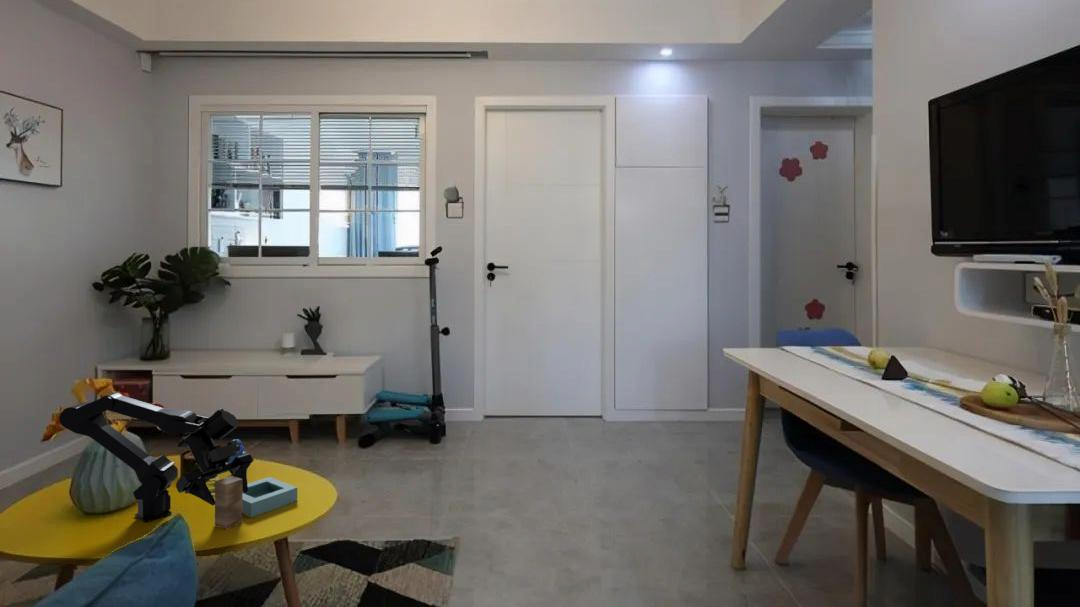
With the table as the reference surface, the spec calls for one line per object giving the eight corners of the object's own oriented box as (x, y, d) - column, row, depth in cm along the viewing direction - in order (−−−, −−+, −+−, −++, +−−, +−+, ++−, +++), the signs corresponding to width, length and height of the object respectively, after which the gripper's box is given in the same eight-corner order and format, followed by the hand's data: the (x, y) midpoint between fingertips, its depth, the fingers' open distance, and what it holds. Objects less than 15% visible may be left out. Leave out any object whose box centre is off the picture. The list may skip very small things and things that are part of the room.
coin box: (251, 517, 151) (251, 503, 151) (223, 504, 159) (223, 491, 158) (297, 500, 163) (297, 487, 163) (269, 489, 171) (269, 476, 170)
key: (218, 482, 176) (218, 475, 176) (234, 493, 168) (234, 486, 168) (192, 488, 170) (192, 481, 170) (208, 500, 163) (208, 493, 163)
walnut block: (226, 529, 144) (226, 484, 143) (214, 525, 146) (214, 481, 145) (242, 522, 148) (242, 479, 148) (231, 518, 150) (231, 475, 150)
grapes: (243, 480, 177) (243, 443, 177) (220, 481, 176) (220, 444, 175) (254, 467, 189) (254, 433, 188) (233, 468, 187) (233, 433, 187)
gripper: (182, 442, 140) (210, 493, 135) (249, 425, 156) (276, 470, 152) (163, 467, 143) (190, 517, 139) (231, 447, 160) (256, 492, 156)
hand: (230, 498), depth 147 cm, fingers open, 9 cm apart
